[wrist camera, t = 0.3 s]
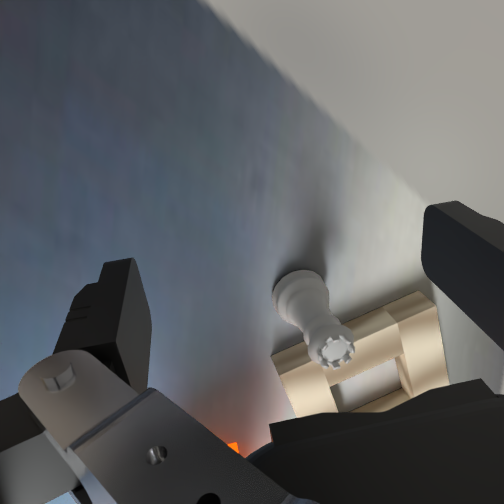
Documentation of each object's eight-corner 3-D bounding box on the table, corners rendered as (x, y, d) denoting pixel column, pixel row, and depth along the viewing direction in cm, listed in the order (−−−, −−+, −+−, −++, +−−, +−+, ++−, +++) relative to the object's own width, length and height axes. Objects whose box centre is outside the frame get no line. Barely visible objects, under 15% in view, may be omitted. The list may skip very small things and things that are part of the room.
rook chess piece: (302, 256, 34) (345, 312, 27) (333, 290, 36) (381, 350, 29) (259, 292, 34) (290, 357, 27) (291, 324, 36) (328, 392, 29)
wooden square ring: (270, 356, 37) (278, 375, 35) (418, 290, 38) (435, 305, 36) (313, 454, 44) (322, 475, 42) (438, 396, 44) (454, 415, 42)
